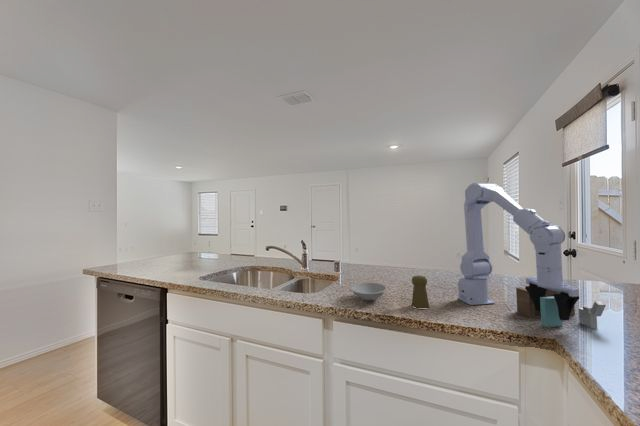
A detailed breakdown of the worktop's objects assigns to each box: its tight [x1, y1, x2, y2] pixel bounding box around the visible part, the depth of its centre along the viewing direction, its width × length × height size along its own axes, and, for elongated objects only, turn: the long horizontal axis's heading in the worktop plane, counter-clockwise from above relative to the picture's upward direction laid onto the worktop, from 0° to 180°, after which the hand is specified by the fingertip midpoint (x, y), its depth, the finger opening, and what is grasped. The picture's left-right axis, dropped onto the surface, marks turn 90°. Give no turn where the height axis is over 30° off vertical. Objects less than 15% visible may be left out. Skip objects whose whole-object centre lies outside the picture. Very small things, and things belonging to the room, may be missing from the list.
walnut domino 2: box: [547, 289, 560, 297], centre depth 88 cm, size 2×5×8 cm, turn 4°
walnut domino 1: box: [515, 287, 536, 318], centre depth 87 cm, size 2×5×8 cm, turn 4°
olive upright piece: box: [411, 275, 430, 309], centre depth 98 cm, size 6×6×11 cm
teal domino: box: [540, 296, 563, 328], centre depth 78 cm, size 2×5×8 cm, turn 94°
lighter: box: [578, 300, 607, 329], centre depth 76 cm, size 7×2×8 cm, turn 172°
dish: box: [350, 281, 388, 301], centre depth 108 cm, size 18×14×5 cm
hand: (551, 314), depth 78 cm, fingers open, 7 cm apart
